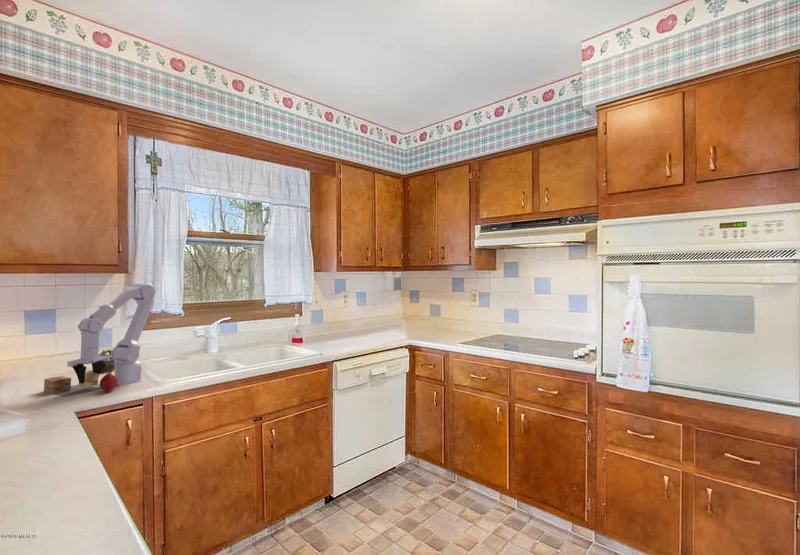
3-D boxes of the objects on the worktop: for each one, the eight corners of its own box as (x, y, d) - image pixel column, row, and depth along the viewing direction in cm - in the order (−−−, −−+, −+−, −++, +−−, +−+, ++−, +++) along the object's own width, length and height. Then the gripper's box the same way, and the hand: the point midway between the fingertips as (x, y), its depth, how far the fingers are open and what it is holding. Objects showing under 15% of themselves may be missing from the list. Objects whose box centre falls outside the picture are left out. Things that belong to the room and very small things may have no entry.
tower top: (61, 382, 166) (62, 375, 166) (70, 384, 164) (71, 378, 164) (44, 385, 161) (44, 378, 161) (53, 387, 158) (53, 381, 158)
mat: (82, 384, 174) (82, 383, 174) (102, 389, 168) (102, 388, 168) (42, 392, 161) (42, 391, 161) (63, 397, 156) (63, 396, 156)
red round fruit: (107, 394, 162) (108, 374, 162) (95, 393, 163) (96, 372, 163) (120, 391, 168) (121, 371, 168) (108, 389, 169) (109, 370, 169)
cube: (90, 383, 169) (91, 372, 169) (97, 384, 167) (98, 373, 167) (78, 385, 165) (79, 374, 165) (85, 387, 163) (86, 375, 163)
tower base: (61, 388, 166) (61, 382, 166) (70, 390, 164) (70, 384, 164) (43, 391, 161) (44, 385, 161) (52, 394, 158) (53, 387, 158)
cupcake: (104, 368, 205) (105, 348, 205) (122, 369, 204) (123, 349, 204) (87, 372, 195) (88, 351, 195) (106, 373, 194) (107, 352, 194)
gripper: (75, 351, 158) (74, 387, 158) (114, 346, 171) (113, 379, 171) (64, 349, 161) (63, 384, 161) (104, 344, 174) (102, 377, 174)
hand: (88, 381), depth 166 cm, fingers closed on cube, 4 cm apart
